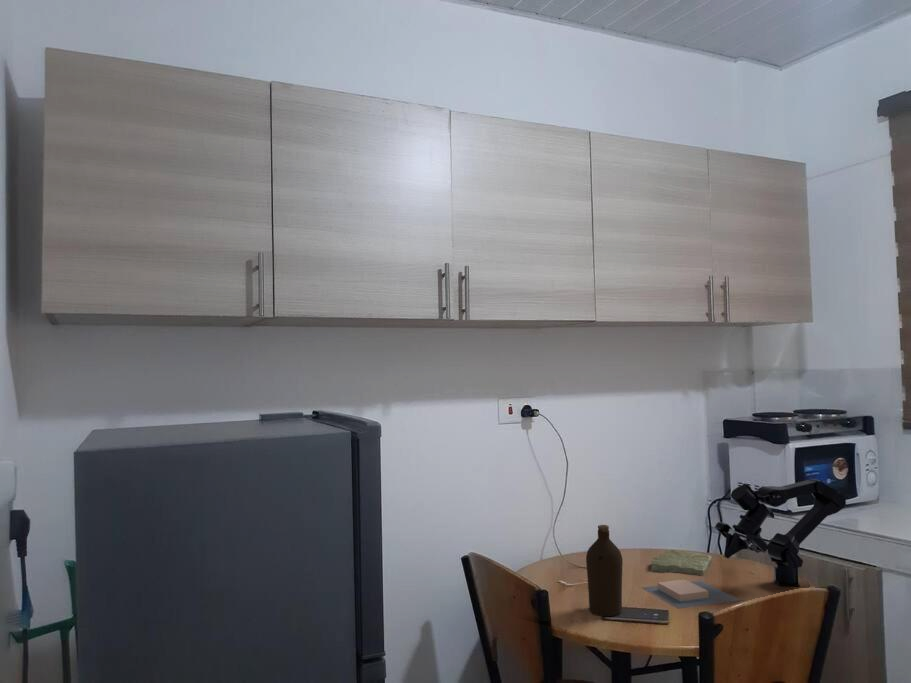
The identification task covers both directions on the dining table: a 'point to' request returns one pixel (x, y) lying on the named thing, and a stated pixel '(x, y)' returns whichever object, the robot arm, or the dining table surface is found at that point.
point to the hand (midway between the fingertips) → (725, 557)
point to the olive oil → (604, 575)
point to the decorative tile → (681, 562)
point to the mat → (713, 594)
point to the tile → (683, 590)
